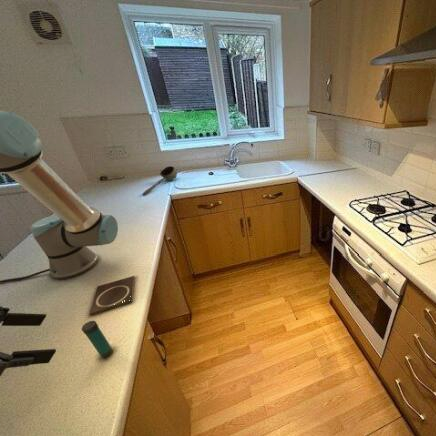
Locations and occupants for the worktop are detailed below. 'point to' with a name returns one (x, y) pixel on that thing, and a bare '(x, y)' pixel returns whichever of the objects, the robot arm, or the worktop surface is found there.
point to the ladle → (164, 177)
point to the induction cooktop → (113, 295)
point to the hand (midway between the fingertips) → (47, 336)
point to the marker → (97, 339)
